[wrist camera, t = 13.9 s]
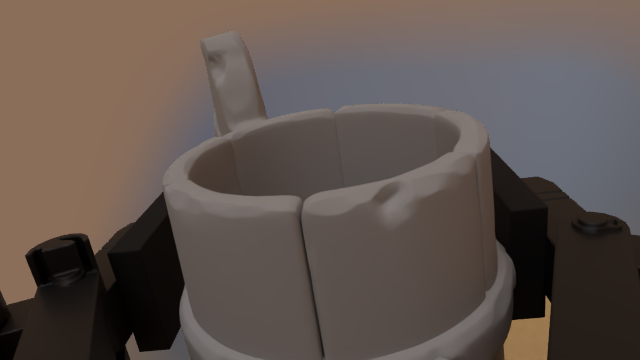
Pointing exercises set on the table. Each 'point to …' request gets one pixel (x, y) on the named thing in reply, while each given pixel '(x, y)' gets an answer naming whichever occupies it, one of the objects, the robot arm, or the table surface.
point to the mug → (336, 230)
